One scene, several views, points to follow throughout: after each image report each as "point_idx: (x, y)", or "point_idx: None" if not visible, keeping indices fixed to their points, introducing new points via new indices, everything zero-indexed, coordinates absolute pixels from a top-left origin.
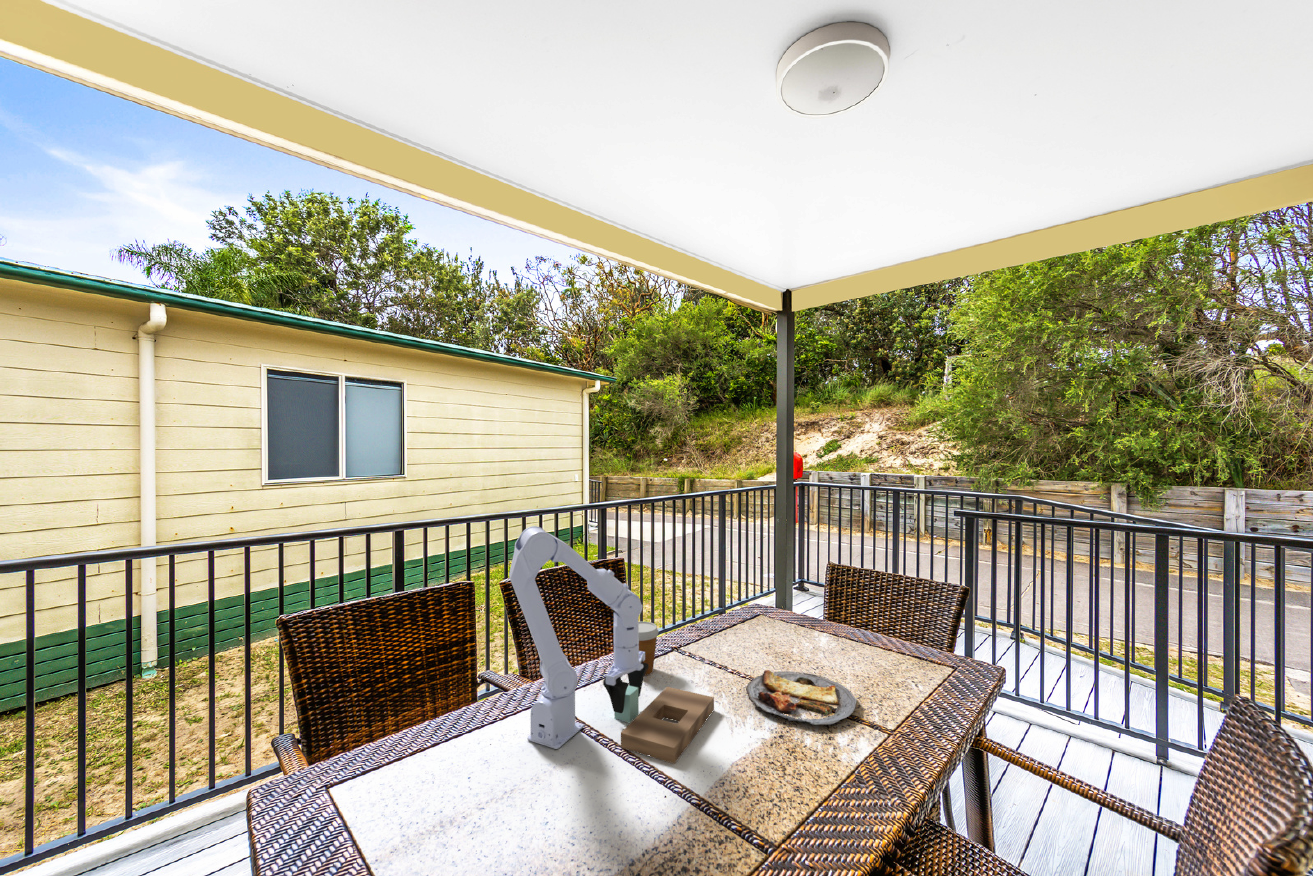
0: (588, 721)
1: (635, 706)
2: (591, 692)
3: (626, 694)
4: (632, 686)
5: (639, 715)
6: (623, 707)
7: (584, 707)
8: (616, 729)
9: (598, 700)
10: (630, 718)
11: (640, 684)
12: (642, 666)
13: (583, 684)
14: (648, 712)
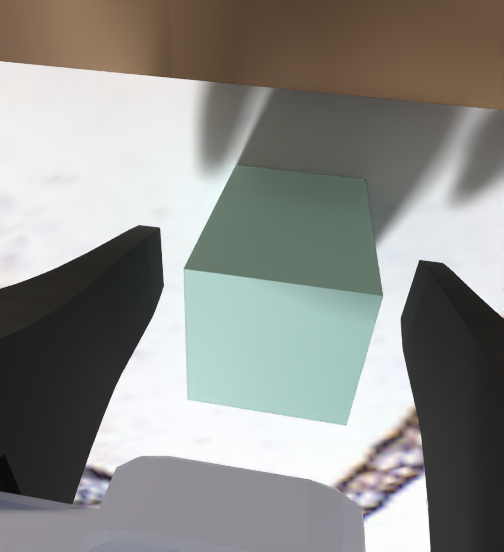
0: (411, 389)
1: (271, 202)
2: (148, 447)
3: (371, 329)
4: (186, 326)
5: (479, 94)
6: (441, 277)
7: (285, 437)
8: (472, 231)
9: (197, 406)
10: (356, 189)
11: (104, 272)
12: (192, 525)
13: (108, 484)
14: (397, 20)
